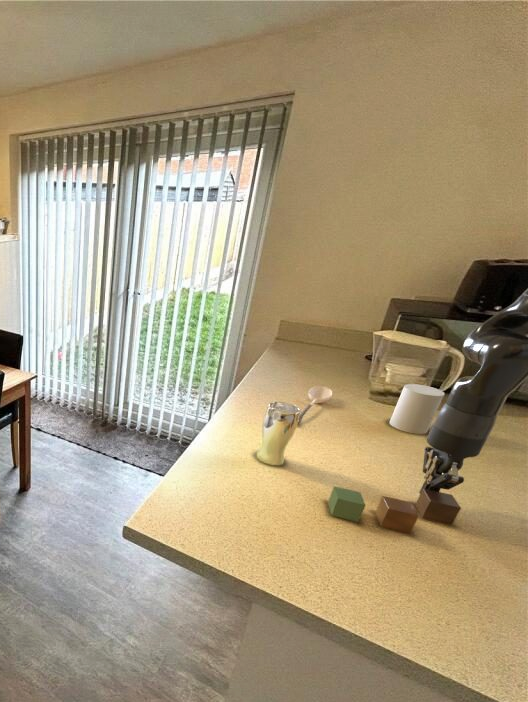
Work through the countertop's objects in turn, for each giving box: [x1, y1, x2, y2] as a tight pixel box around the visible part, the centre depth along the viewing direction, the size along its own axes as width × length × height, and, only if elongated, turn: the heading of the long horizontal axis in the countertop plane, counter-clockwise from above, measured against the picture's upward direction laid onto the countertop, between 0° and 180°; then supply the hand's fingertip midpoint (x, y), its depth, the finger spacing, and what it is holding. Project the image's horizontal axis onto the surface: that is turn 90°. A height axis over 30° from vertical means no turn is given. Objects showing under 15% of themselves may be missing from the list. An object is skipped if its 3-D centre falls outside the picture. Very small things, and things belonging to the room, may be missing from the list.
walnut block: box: [414, 489, 462, 526], centre depth 81 cm, size 4×4×4 cm
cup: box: [389, 383, 445, 435], centre depth 112 cm, size 8×8×12 cm
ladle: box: [297, 385, 333, 426], centre depth 125 cm, size 6×28×5 cm, turn 131°
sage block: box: [327, 485, 366, 523], centre depth 82 cm, size 4×4×4 cm
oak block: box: [375, 495, 419, 534], centre depth 79 cm, size 4×4×4 cm
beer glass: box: [256, 401, 301, 466], centre depth 98 cm, size 7×7×15 cm
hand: (426, 497), depth 85 cm, fingers closed
